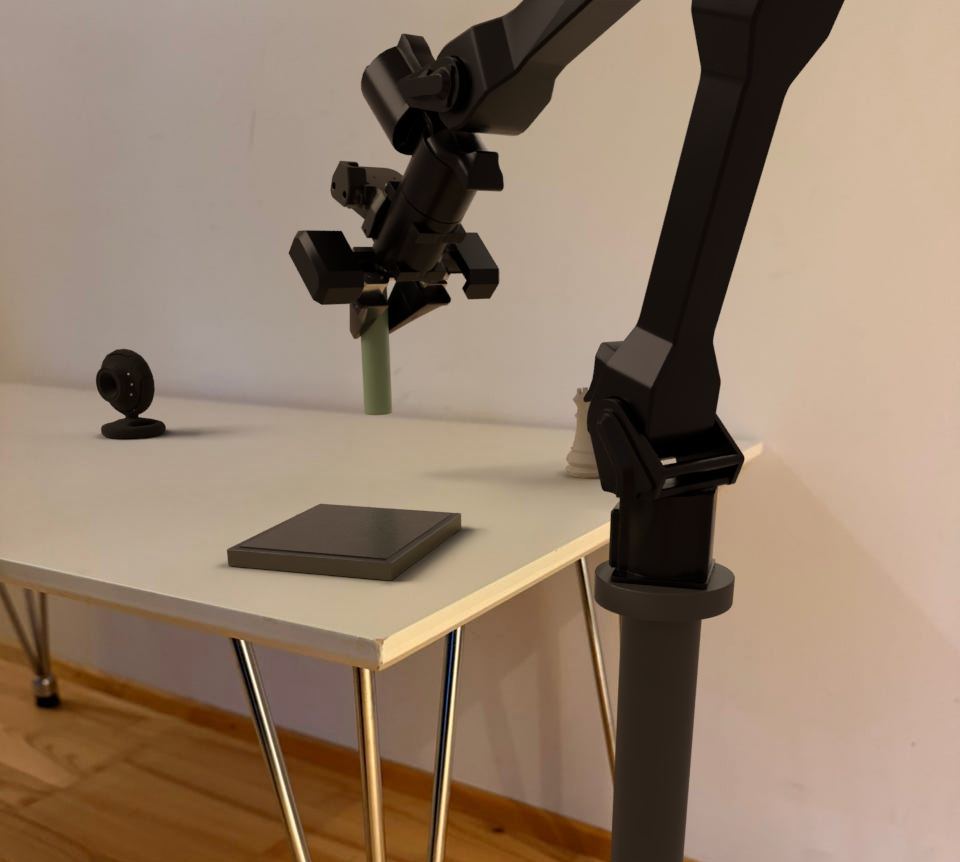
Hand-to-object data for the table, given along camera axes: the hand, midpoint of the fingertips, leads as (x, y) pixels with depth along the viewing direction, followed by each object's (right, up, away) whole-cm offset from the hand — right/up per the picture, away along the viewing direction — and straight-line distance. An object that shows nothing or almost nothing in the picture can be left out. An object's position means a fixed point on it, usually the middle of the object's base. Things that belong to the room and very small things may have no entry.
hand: (366, 334), depth 91 cm
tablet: (+1, -22, -20) cm, 29 cm away
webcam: (-32, -4, +28) cm, 43 cm away
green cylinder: (+1, -7, +2) cm, 7 cm away
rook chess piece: (+21, -13, +4) cm, 25 cm away
